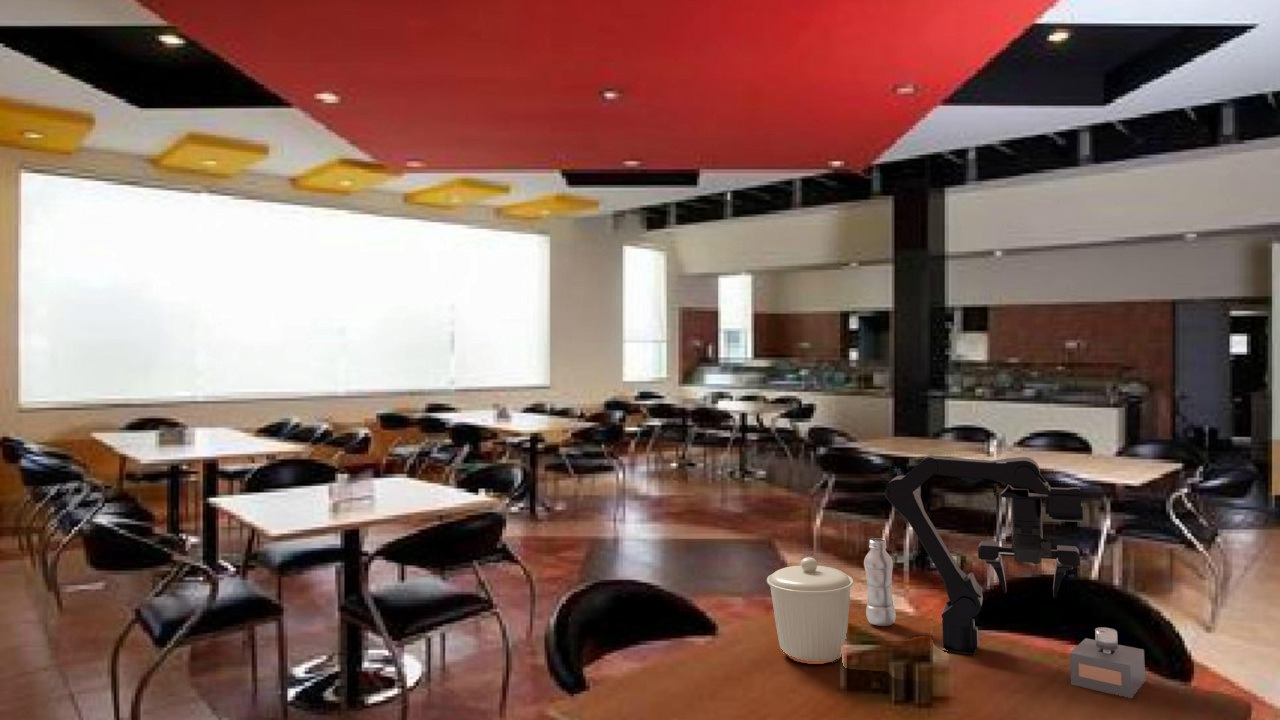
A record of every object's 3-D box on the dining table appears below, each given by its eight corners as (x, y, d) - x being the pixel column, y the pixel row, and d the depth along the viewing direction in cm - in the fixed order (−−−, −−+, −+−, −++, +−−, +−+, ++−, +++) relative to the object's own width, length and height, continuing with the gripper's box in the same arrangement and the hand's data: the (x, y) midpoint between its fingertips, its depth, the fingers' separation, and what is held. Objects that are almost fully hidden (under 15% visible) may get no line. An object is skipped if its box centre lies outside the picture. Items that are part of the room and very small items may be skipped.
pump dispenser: (1070, 684, 151) (1069, 653, 151) (1086, 668, 158) (1085, 638, 158) (1131, 699, 144) (1129, 665, 144) (1145, 681, 151) (1143, 649, 151)
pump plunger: (1094, 677, 151) (1092, 631, 151) (1100, 671, 154) (1098, 626, 154) (1116, 681, 149) (1114, 635, 149) (1121, 675, 151) (1119, 630, 151)
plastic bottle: (897, 629, 184) (894, 543, 184) (867, 628, 186) (863, 543, 186) (894, 620, 191) (891, 537, 191) (865, 619, 192) (861, 536, 192)
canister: (752, 657, 171) (748, 559, 171) (803, 635, 183) (799, 543, 183) (823, 680, 157) (819, 573, 157) (873, 655, 170) (869, 556, 170)
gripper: (975, 524, 162) (978, 601, 162) (1079, 529, 154) (1083, 610, 154) (978, 514, 172) (981, 586, 172) (1077, 518, 164) (1080, 594, 164)
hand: (1029, 594), depth 165 cm, fingers open, 9 cm apart
